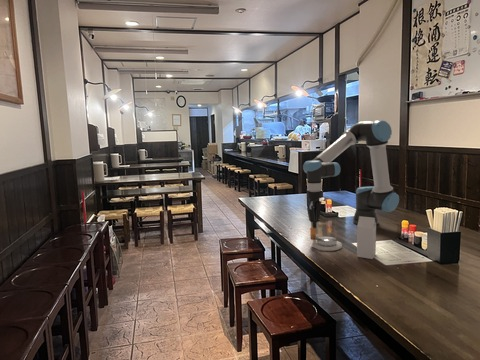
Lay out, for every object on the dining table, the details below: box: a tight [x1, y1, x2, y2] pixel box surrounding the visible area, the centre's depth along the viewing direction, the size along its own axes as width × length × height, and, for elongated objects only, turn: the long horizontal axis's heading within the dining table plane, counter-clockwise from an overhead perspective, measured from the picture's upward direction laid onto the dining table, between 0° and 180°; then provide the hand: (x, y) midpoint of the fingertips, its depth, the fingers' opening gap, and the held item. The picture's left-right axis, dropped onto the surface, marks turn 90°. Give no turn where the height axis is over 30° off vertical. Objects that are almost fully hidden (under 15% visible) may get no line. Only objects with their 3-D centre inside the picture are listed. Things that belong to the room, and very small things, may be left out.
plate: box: [311, 240, 343, 252], centre depth 181 cm, size 15×15×3 cm
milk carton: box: [356, 216, 377, 260], centre depth 165 cm, size 7×7×19 cm
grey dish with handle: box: [309, 226, 338, 247], centre depth 181 cm, size 10×13×8 cm
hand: (315, 233), depth 185 cm, fingers closed
